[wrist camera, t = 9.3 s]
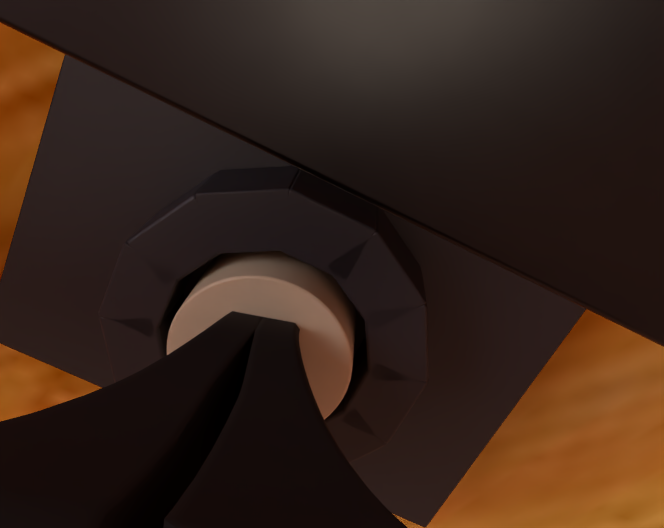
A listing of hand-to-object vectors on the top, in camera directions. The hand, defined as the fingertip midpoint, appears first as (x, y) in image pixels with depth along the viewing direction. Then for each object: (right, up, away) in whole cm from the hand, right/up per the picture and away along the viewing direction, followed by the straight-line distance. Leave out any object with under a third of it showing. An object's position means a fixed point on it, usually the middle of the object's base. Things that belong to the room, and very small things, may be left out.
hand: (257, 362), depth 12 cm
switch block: (0, +1, +3) cm, 3 cm away
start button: (0, +1, +2) cm, 2 cm away
